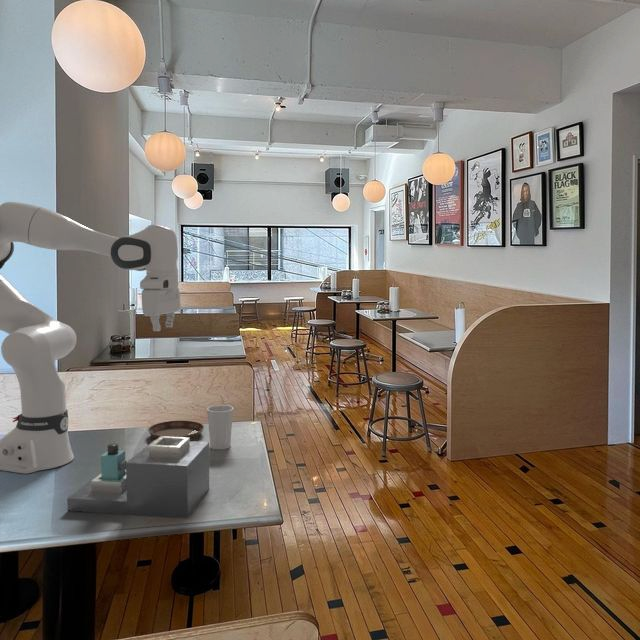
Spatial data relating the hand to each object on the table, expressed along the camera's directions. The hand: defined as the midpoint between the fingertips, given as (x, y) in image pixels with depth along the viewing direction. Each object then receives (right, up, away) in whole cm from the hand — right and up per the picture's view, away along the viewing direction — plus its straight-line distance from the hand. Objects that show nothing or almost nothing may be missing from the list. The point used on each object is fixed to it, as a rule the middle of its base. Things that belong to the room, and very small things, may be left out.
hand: (163, 329), depth 155 cm
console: (+3, -40, -29) cm, 49 cm away
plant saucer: (-1, -36, +19) cm, 41 cm away
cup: (+15, -37, +9) cm, 41 cm away
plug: (-3, -37, -28) cm, 47 cm away
